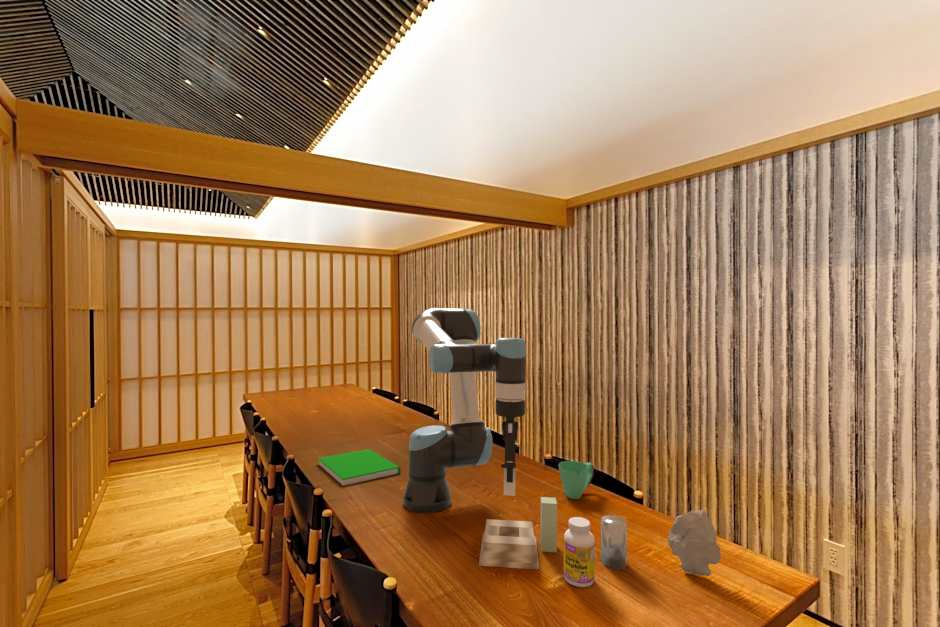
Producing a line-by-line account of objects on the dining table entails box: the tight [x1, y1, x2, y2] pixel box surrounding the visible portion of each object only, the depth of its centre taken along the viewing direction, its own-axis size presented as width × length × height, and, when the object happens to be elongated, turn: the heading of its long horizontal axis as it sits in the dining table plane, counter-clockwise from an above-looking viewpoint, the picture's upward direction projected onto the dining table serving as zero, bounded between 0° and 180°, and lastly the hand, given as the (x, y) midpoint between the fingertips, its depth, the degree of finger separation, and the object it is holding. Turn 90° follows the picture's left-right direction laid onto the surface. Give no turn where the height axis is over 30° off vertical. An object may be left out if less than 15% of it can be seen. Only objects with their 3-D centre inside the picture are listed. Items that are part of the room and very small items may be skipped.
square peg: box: [539, 496, 558, 553], centre depth 108 cm, size 4×4×12 cm
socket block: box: [478, 518, 540, 570], centre depth 106 cm, size 14×14×5 cm
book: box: [317, 448, 402, 486], centre depth 165 cm, size 22×28×3 cm
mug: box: [558, 460, 595, 500], centre depth 143 cm, size 15×10×10 cm
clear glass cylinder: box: [600, 514, 628, 571], centre depth 102 cm, size 6×6×10 cm
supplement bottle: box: [563, 516, 596, 588], centre depth 95 cm, size 7×7×13 cm
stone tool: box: [667, 509, 722, 577], centre depth 97 cm, size 11×4×15 cm, turn 51°
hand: (509, 484), depth 106 cm, fingers open, 13 cm apart
